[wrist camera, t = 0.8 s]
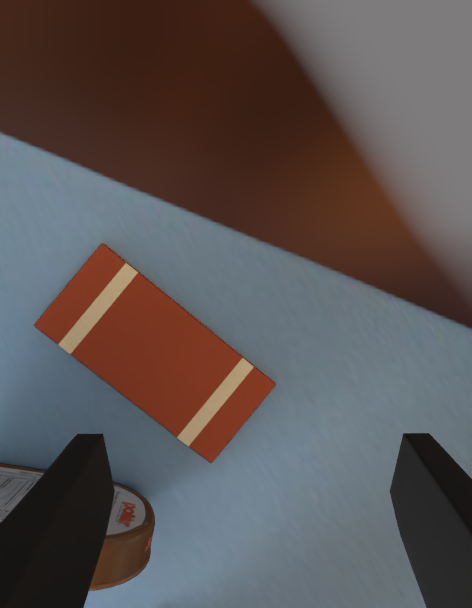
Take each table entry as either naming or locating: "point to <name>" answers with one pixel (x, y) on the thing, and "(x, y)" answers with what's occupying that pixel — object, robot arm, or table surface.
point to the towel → (155, 353)
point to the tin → (120, 534)
